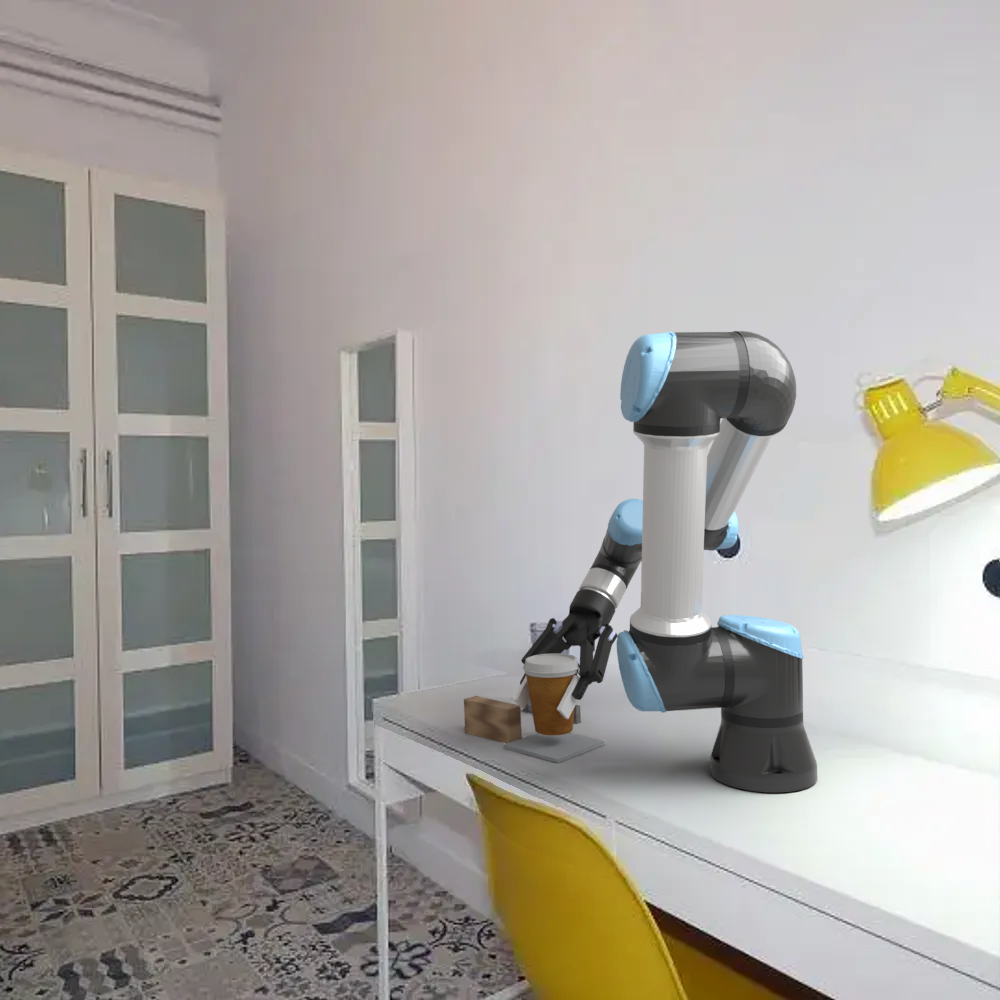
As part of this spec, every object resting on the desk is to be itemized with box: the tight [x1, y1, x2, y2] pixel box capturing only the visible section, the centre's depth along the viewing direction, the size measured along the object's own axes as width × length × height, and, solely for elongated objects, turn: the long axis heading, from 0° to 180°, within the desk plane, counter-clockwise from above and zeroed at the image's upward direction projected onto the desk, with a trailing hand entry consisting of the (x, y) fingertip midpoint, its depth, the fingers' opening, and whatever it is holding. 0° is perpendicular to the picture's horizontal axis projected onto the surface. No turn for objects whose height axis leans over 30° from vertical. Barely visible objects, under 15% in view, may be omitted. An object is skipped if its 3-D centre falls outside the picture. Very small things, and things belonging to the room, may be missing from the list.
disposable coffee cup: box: [522, 653, 580, 735], centre depth 144 cm, size 10×10×12 cm
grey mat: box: [502, 732, 606, 764], centre depth 144 cm, size 12×12×1 cm
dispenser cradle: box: [463, 695, 582, 744], centre depth 156 cm, size 13×18×6 cm
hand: (540, 709), depth 142 cm, fingers closed on disposable coffee cup, 9 cm apart
